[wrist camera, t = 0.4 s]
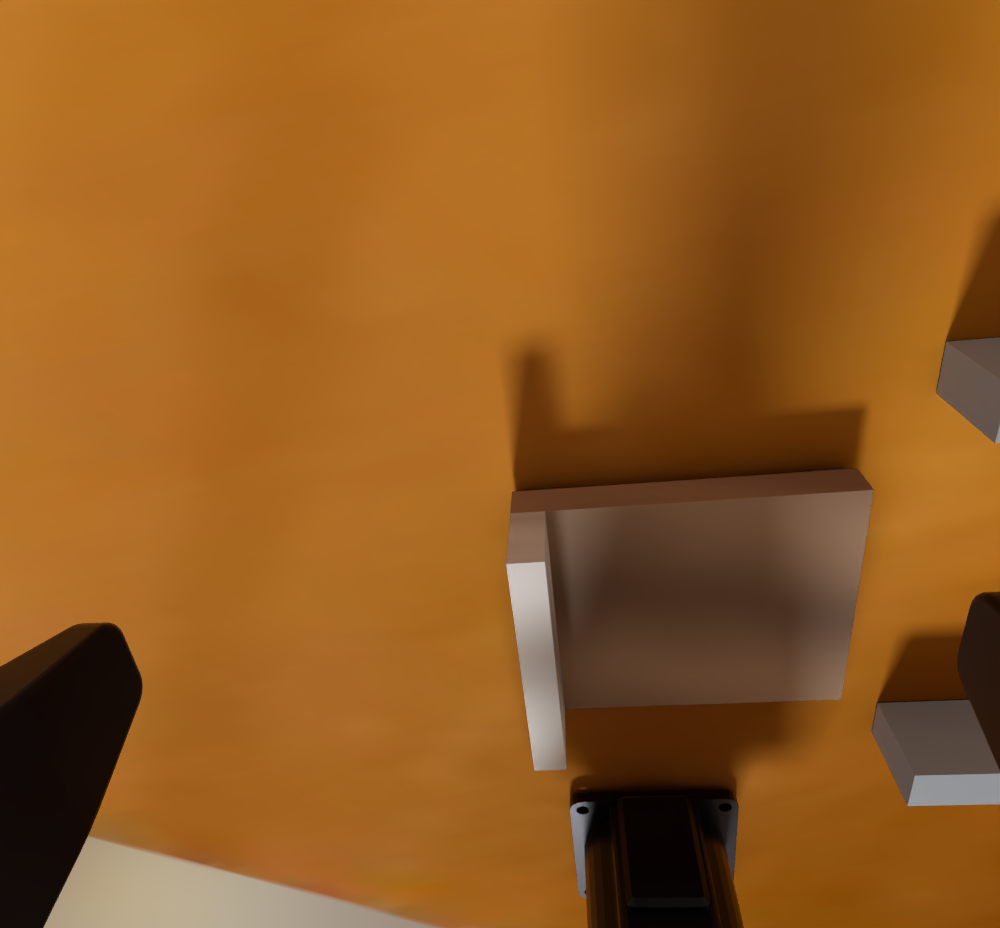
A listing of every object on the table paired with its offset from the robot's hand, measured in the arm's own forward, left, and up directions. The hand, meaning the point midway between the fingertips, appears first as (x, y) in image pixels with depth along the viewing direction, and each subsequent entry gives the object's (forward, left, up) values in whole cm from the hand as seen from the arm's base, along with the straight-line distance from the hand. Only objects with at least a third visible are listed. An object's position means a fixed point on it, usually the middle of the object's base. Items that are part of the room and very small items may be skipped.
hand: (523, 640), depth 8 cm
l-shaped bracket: (-10, -4, -13) cm, 17 cm away
